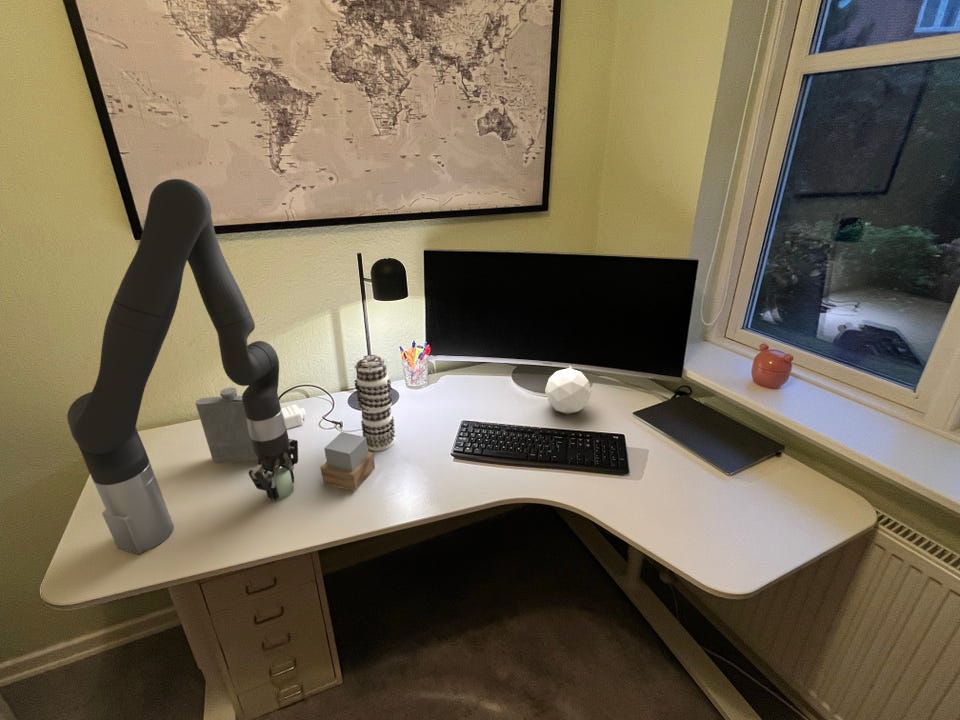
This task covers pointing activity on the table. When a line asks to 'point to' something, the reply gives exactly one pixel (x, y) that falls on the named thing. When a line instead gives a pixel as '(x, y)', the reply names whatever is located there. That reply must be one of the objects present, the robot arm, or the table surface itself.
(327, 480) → the base block
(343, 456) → the gray block
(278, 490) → the rounded mint cylinder
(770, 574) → the table surface
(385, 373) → the decorative candle
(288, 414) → the white bottle
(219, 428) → the hip flask
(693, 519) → the table surface
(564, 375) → the geodesic sphere
